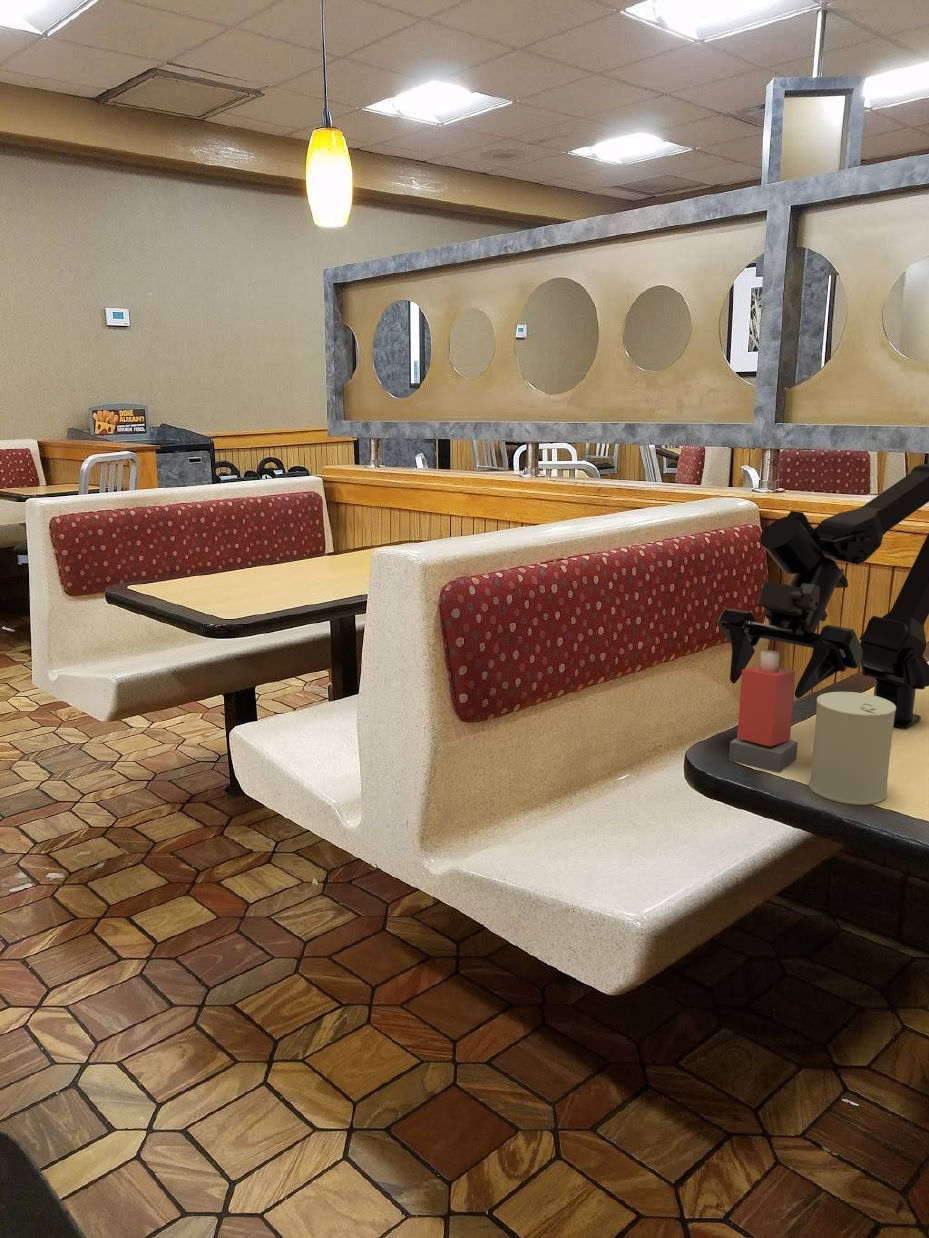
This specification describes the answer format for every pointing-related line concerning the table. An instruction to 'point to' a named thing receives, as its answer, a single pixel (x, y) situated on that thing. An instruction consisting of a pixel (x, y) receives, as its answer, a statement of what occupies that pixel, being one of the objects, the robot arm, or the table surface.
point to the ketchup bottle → (766, 702)
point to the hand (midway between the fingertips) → (763, 688)
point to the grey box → (763, 754)
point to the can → (852, 747)
